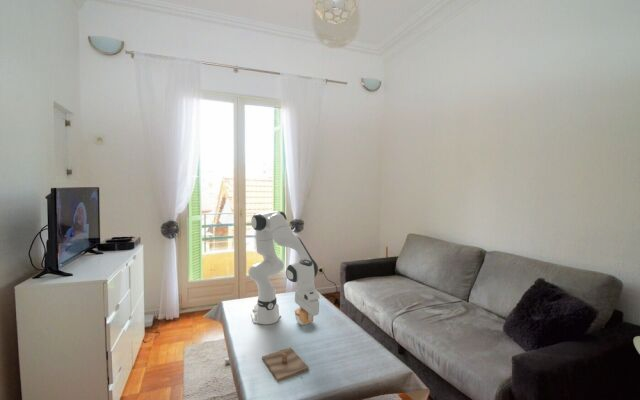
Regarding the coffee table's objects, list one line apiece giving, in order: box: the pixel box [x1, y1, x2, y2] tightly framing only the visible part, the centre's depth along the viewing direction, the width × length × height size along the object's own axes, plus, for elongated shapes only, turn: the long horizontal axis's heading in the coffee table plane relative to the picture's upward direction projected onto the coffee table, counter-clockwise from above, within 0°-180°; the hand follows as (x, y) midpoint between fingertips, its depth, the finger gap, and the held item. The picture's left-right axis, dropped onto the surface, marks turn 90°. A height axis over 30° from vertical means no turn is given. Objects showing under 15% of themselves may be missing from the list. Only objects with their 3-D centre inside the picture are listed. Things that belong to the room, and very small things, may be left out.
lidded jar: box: [294, 307, 309, 326], centre depth 190 cm, size 11×11×9 cm
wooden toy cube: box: [299, 309, 314, 325], centre depth 157 cm, size 5×5×6 cm
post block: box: [261, 346, 310, 383], centre depth 147 cm, size 20×16×5 cm
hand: (306, 317), depth 157 cm, fingers closed on wooden toy cube, 5 cm apart
